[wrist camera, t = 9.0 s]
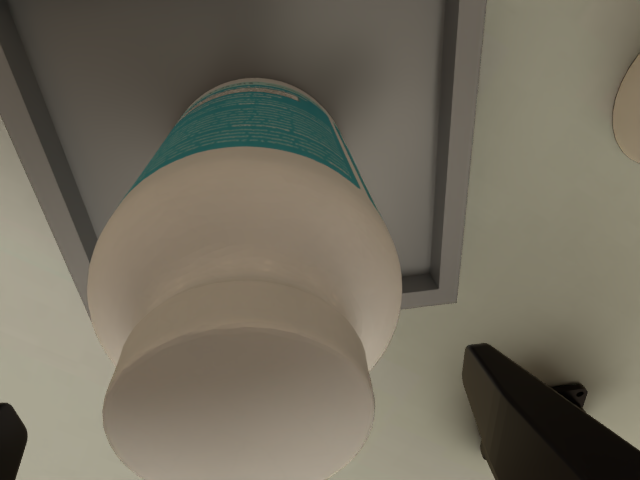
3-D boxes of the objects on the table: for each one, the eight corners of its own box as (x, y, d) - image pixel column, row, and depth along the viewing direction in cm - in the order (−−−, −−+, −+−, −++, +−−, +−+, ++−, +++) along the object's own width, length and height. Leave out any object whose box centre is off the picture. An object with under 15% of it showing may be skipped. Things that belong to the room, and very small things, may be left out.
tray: (471, -73, 16) (495, -82, 14) (443, 280, 24) (456, 302, 22) (-27, -31, 15) (-66, -34, 14) (114, 319, 23) (101, 345, 22)
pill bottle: (137, 161, 19) (-96, 444, 7) (257, 31, 17) (213, 117, 5) (264, 264, 22) (253, 578, 10) (378, 164, 20) (530, 414, 8)
